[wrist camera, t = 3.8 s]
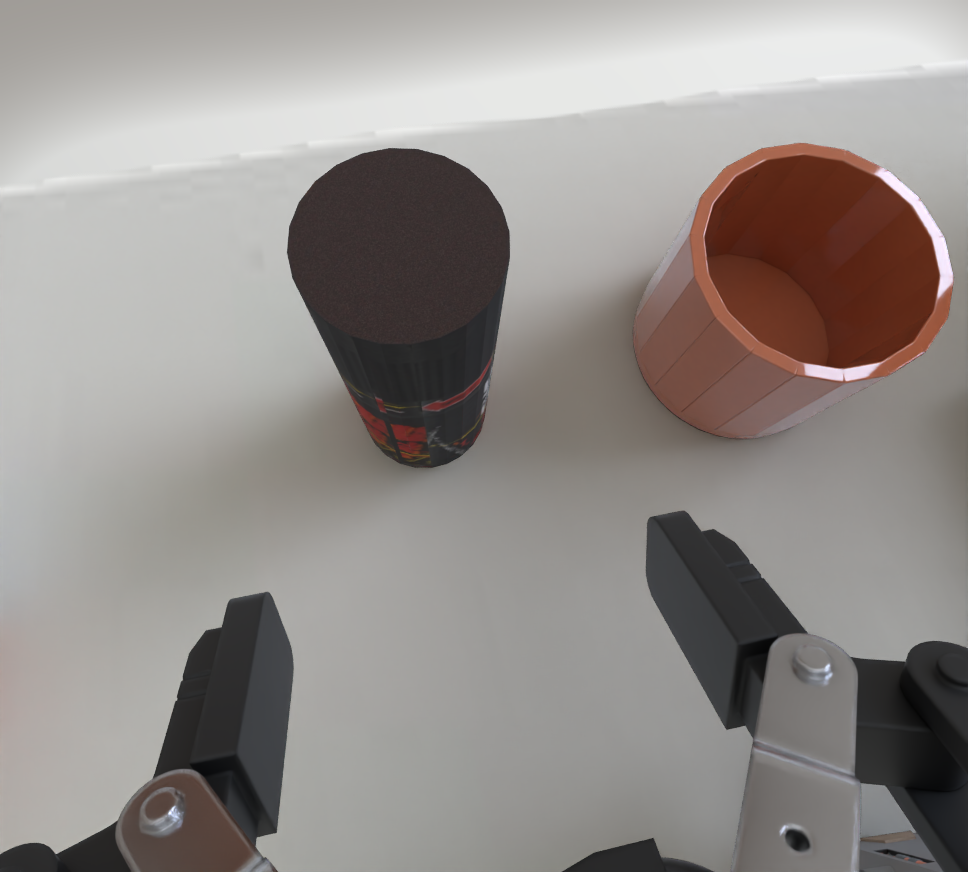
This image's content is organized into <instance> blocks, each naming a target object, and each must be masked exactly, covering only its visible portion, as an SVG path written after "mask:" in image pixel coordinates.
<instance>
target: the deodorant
mask: <svg viewBox="0 0 968 872" xmlns="http://www.w3.org/2000/svg"><path fill="white" fill-rule="evenodd" d="M287 254H288V259H289V264H290V268H291V273H292V278H293V280H294V282H295V284H296V286H297V288H298V290H299V292H300V294H301V296H302V298H303V300H304V302H305V304H306V306H307V308H308V310H309V312H310V314H311V316H312V318H313V320H314V322H315V325H316V327H317V329H318V331H319V333H320V335H321V337H322V339H323V341H324V343H325V345H326V347H327V349H328V351H329V353H330V355H331V357H332V359H333V361H334V363H335V365H336V367H337V369H338V371H339V373H340V375H341V377H342V379H343V381H344V383H345V385H346V387H347V389H348V391H349V393H350V395H351V397H352V400H353V402H354V404H355V406H356V408H357V410H358V412H359V414H360V416H361V418H362V420H363V422H364V424H365V426H366V428H367V430H368V432H369V434H370V435H371V437H372V439H373V441H374V443H375V444H376V445H377V446H378V447H379V448H380V449H381V450H382V451H383V452H384V453H385V454H386V455H387V456H389V457H390V458H392V459H394V460H395V461H397V462H399V463H401V464H405V465H409V466H412V467H435V466H439V465H443V464H447V463H449V462H451V461H453V460H454V459H456V458H458V457H460V456H461V455H463V454H464V453H465V452H466V451H467V450H468V449H469V448H470V447H471V446H472V445H473V443H474V442H475V440H476V438H477V437H478V435H479V433H480V432H481V428H482V424H483V421H484V417H485V411H486V405H487V398H488V392H489V386H490V379H491V373H492V367H493V360H494V354H495V348H496V341H497V335H498V329H499V322H500V316H501V310H502V303H503V297H504V291H505V284H506V278H507V272H508V265H509V259H510V237H509V229H508V226H507V222H506V219H505V216H504V213H503V210H502V207H501V205H500V204H499V202H498V201H497V199H496V198H495V196H494V195H493V193H492V192H491V190H490V189H489V187H488V186H487V185H486V184H485V183H484V182H483V181H481V180H480V179H479V178H478V177H477V176H476V175H475V174H474V173H472V172H471V171H470V170H469V169H468V168H466V167H464V166H462V165H460V164H458V163H456V162H454V161H453V160H451V159H449V158H447V157H445V156H442V155H438V154H434V153H430V152H427V151H423V150H419V149H398V148H388V149H383V150H378V151H373V152H368V153H362V154H360V155H358V156H355V157H353V158H351V159H349V160H346V161H344V162H342V163H340V164H338V165H336V166H335V167H333V168H332V169H331V170H329V171H328V172H327V173H325V174H324V175H323V176H322V177H320V178H319V179H318V180H316V181H315V182H314V184H313V185H312V186H311V187H310V189H309V190H308V191H307V193H306V194H305V195H304V197H303V198H302V199H301V200H300V202H299V204H298V206H297V209H296V211H295V214H294V216H293V219H292V221H291V224H290V226H289V236H288V248H287Z"/></svg>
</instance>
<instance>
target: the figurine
mask: <svg viewBox="0 0 968 872" xmlns="http://www.w3.org/2000/svg"><path fill="white" fill-rule="evenodd" d="M860 840H861V841H860V854H859V872H943V871H942V869H941V868H940V866H939V865H938V863H937V862H936V860H935V859H934V857H933V856H932V854H931V853H930V851H929V850H928V848H927V847H926V845H925V844H924V842H923V841H922V839H921V838H920V836H919V835H918V833H912V832H911V831H906V832H899V833H892V834H885V835H878V836H871V837H865V838H860Z"/></svg>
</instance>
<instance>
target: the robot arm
mask: <svg viewBox="0 0 968 872" xmlns="http://www.w3.org/2000/svg"><path fill="white" fill-rule="evenodd" d="M646 577H647V582H648V586H649V589H650V592H651V595H652V597H653V599H654V601H655V603H656V605H657V607H658V608H659V610H660V612H661V614H662V616H663V617H664V619H665V621H666V623H667V624H668V626H669V628H670V630H671V632H672V633H673V635H674V637H675V639H676V641H677V642H678V644H679V646H680V648H681V649H682V651H683V653H684V655H685V657H686V658H687V660H688V662H689V664H690V666H691V667H692V669H693V671H694V673H695V675H696V676H697V678H698V680H699V682H700V683H701V685H702V687H703V689H704V691H705V692H706V694H707V696H708V698H709V700H710V701H711V703H712V705H713V707H714V708H715V710H716V712H717V714H718V716H719V717H720V719H721V721H722V723H723V725H724V726H725V728H726V730H728V729H732V728H736V727H741V726H745V725H746V727H747V729H748V731H749V732H750V734H751V736H752V737H753V744H752V750H751V756H750V762H749V767H748V773H747V779H746V784H745V790H744V796H743V802H742V807H741V813H740V819H739V825H738V830H737V836H736V842H735V848H734V853H733V859H732V865H731V870H730V872H859V854H860V815H861V784H860V783H866V784H876V785H886V787H887V788H888V790H889V791H890V793H891V794H892V796H893V797H894V799H895V800H896V802H897V803H898V805H899V806H900V808H901V809H902V811H903V812H904V814H905V815H906V817H907V818H908V820H909V821H910V823H911V824H912V826H913V827H914V829H915V830H916V832H917V833H918V835H919V836H920V838H921V839H922V841H923V842H924V844H925V845H926V847H927V848H928V850H929V851H930V853H931V854H932V856H933V857H934V859H935V860H936V862H937V863H938V865H939V866H940V868H941V869H942V871H943V872H968V648H965V647H963V646H960V645H957V644H953V643H948V642H942V641H929V642H924V643H920V644H918V645H916V646H914V647H913V648H912V649H911V650H910V652H909V653H908V656H907V659H906V662H901V661H886V660H871V659H860V658H854V657H850V656H849V655H848V654H847V653H846V652H845V651H844V650H843V649H841V648H840V647H839V646H837V645H836V644H834V643H833V642H831V641H829V640H827V639H825V638H822V637H819V636H816V635H812V634H808V633H807V632H806V631H805V629H804V628H803V627H802V626H801V624H800V623H799V622H798V621H797V619H796V618H795V617H794V616H793V614H792V613H791V612H790V611H789V609H788V608H787V607H786V606H785V604H784V603H783V602H782V601H781V599H780V598H779V597H778V596H777V594H776V593H775V592H774V591H773V589H772V588H771V587H770V586H769V584H768V583H767V582H766V581H765V579H764V578H763V579H762V578H761V574H760V573H759V572H758V571H757V569H756V568H755V567H754V566H753V564H750V562H749V559H748V558H747V557H746V556H745V554H744V553H743V552H742V551H741V549H740V548H739V547H738V546H737V544H736V543H735V542H733V541H732V540H730V539H729V538H727V537H725V536H724V535H722V534H721V533H719V532H717V531H716V530H714V529H712V530H707V531H702V532H701V530H700V529H699V528H698V526H697V525H696V524H695V522H694V521H693V520H692V518H691V517H690V516H689V514H688V513H687V512H685V511H678V512H673V513H668V514H663V515H658V516H653V517H650V518H649V519H648V523H647V549H646ZM293 669H294V668H293V655H292V650H291V645H290V642H289V639H288V637H287V634H286V631H285V629H284V626H283V624H282V621H281V618H280V616H279V613H278V610H277V608H276V605H275V603H274V600H273V598H272V596H271V594H270V593H269V592H264V593H259V594H254V595H249V596H244V597H239V598H234V599H231V600H230V601H229V602H228V605H227V608H226V612H225V617H224V621H223V625H222V627H221V628H216V629H211V630H206V631H205V633H204V634H203V635H202V637H201V638H200V639H199V641H198V642H197V643H196V645H195V646H194V648H193V649H192V650H191V652H190V653H189V656H188V660H187V663H186V667H185V670H184V673H183V681H181V684H180V687H179V691H178V694H177V698H178V699H177V701H175V705H174V708H173V712H172V715H171V719H170V722H169V726H168V729H167V733H166V736H165V740H164V743H163V747H162V750H161V753H160V757H159V760H158V764H157V767H156V771H155V774H154V777H153V779H152V780H151V781H149V782H148V783H146V784H145V785H144V786H143V787H141V788H140V789H139V790H138V791H137V792H136V793H135V794H134V795H133V796H132V797H131V799H130V800H129V801H128V803H127V804H126V806H125V807H124V809H123V811H122V812H121V815H120V817H119V819H118V821H116V822H115V823H114V824H112V825H111V826H109V827H107V828H105V829H104V830H102V831H100V832H98V833H96V834H94V835H92V836H90V837H89V838H87V839H85V840H83V841H81V842H79V843H77V844H75V845H73V846H71V847H69V848H68V849H66V850H64V851H62V852H60V853H58V854H55V853H54V852H53V850H52V849H51V848H50V847H48V846H46V845H44V844H40V843H28V844H23V845H20V846H17V847H14V848H12V849H10V850H8V851H6V852H4V853H2V854H0V872H278V871H277V870H276V869H275V867H274V866H273V865H272V864H271V862H270V861H269V860H268V859H267V858H266V857H265V858H263V856H262V855H261V854H260V853H259V851H258V850H257V849H256V847H255V846H256V839H257V837H260V836H264V835H269V834H273V833H277V825H278V815H279V806H280V796H281V787H282V777H283V768H284V758H285V749H286V739H287V730H288V720H289V711H290V701H291V692H292V682H293ZM562 872H714V871H711V870H709V869H707V868H705V867H703V866H700V865H697V864H694V863H690V862H687V861H683V860H678V859H673V858H661V856H660V854H659V851H658V849H657V846H656V843H655V841H654V838H652V839H648V840H643V841H639V842H635V843H631V844H627V845H623V846H619V847H615V848H611V849H607V850H603V851H599V852H595V853H593V854H591V855H589V856H588V857H586V858H584V859H583V860H581V861H579V862H578V863H576V864H574V865H573V866H571V867H569V868H567V869H566V870H564V871H562Z"/></svg>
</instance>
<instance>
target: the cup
mask: <svg viewBox="0 0 968 872" xmlns="http://www.w3.org/2000/svg"><path fill="white" fill-rule="evenodd" d="M953 282H954V275H953V270H952V266H951V262H950V257H949V253H948V249H947V244H946V240H945V237H943V234H942V232H941V231H940V229H939V227H938V226H937V224H936V223H935V221H934V219H933V218H932V216H931V215H930V213H929V211H928V210H927V208H926V207H925V205H924V203H923V202H922V200H920V198H919V197H918V196H917V195H916V194H915V193H914V192H913V191H911V190H910V189H909V188H908V187H907V186H906V185H904V184H903V183H902V182H901V181H900V180H899V179H898V178H896V177H895V176H894V175H893V174H892V173H891V172H890V171H888V170H886V169H885V168H883V167H881V166H879V165H877V164H874V163H872V162H870V161H868V160H866V159H864V158H862V157H860V156H858V155H855V154H853V153H851V152H849V151H845V150H844V149H838V148H832V147H826V146H820V145H813V144H807V143H795V144H788V145H781V146H774V147H767V148H761V149H759V150H757V151H755V152H753V153H751V154H750V155H748V156H746V157H744V158H742V159H740V160H738V161H736V162H734V163H733V164H731V165H729V166H727V167H726V168H724V169H723V170H722V171H721V173H720V174H719V175H718V176H717V177H716V179H715V180H714V181H713V182H712V183H711V185H710V186H709V187H708V188H707V189H706V191H705V192H704V193H703V194H702V195H701V197H700V198H699V200H698V202H697V203H696V205H695V207H694V208H693V210H692V212H691V213H690V215H689V217H688V218H687V220H686V222H685V223H684V225H683V227H682V228H681V230H680V232H679V233H678V235H677V237H676V238H675V240H674V242H673V243H672V245H671V247H670V248H669V250H668V252H667V253H666V255H665V257H664V258H663V260H662V262H661V263H660V265H659V267H658V268H657V270H656V272H655V273H654V275H653V277H652V278H651V280H650V282H649V283H648V285H647V287H646V289H645V291H644V294H643V296H642V298H641V300H640V303H639V305H638V308H637V311H636V315H635V319H634V327H633V343H634V349H635V355H636V358H637V362H638V365H639V368H640V370H641V372H642V375H643V377H644V379H645V381H646V382H647V384H648V385H649V387H650V389H651V390H652V392H653V393H654V394H655V395H656V397H657V398H658V399H659V400H660V401H661V402H662V403H663V404H664V405H665V406H666V407H667V408H668V409H669V410H670V411H671V412H672V413H674V414H675V415H676V416H677V417H679V418H680V419H682V420H683V421H685V422H687V423H688V424H690V425H692V426H694V427H696V428H698V429H700V430H703V431H705V432H708V433H711V434H715V435H718V436H723V437H729V438H740V439H749V438H760V437H764V436H769V435H773V434H775V433H778V432H781V431H783V430H787V429H789V428H791V427H793V426H795V425H797V424H799V423H801V422H803V421H805V420H806V419H808V418H810V417H812V416H814V415H816V414H818V413H820V412H821V411H823V410H825V409H827V408H829V407H831V406H833V405H835V404H836V403H838V402H840V401H842V400H844V399H846V398H848V397H850V396H852V395H853V394H855V393H857V392H859V391H861V390H863V389H865V388H867V387H868V386H870V385H872V384H874V383H876V382H878V381H880V380H882V379H883V378H885V377H887V376H889V375H891V374H892V373H894V372H896V371H897V370H899V369H900V368H902V367H903V366H905V365H907V364H908V363H910V362H911V361H913V360H914V359H916V358H918V357H919V356H921V355H922V354H924V352H926V351H927V349H928V348H929V346H930V345H931V343H932V342H933V340H934V339H935V337H936V336H937V334H938V333H939V331H940V329H941V328H942V326H943V325H944V323H945V322H946V320H947V318H948V314H949V308H950V302H951V295H952V289H953Z"/></svg>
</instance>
